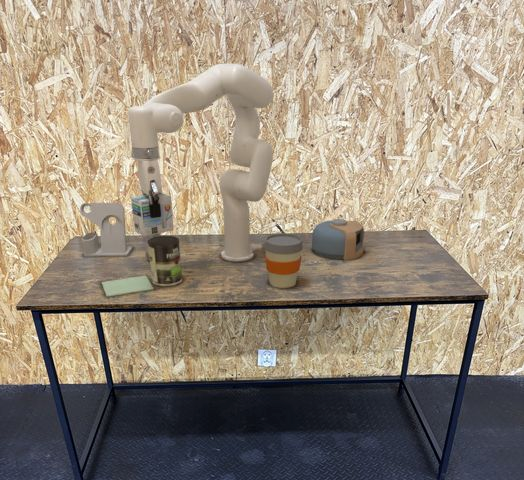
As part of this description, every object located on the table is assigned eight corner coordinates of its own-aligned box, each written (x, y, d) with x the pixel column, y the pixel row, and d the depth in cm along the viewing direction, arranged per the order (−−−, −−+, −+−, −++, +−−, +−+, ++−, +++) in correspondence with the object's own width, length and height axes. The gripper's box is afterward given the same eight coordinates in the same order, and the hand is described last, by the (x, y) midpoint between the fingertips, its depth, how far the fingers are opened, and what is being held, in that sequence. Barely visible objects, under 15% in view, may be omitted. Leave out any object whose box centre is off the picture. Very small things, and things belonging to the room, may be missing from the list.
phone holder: (81, 256, 189) (72, 209, 180) (89, 247, 197) (80, 202, 188) (127, 256, 189) (120, 209, 180) (132, 247, 198) (126, 201, 189)
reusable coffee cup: (261, 289, 163) (261, 244, 155) (266, 274, 174) (266, 232, 166) (299, 291, 162) (301, 246, 154) (302, 276, 172) (304, 234, 165)
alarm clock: (354, 263, 183) (357, 231, 177) (304, 254, 191) (305, 223, 185) (368, 247, 198) (371, 217, 192) (321, 240, 206) (323, 211, 200)
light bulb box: (144, 237, 150) (140, 201, 145) (133, 231, 155) (129, 196, 149) (174, 230, 156) (171, 195, 151) (163, 225, 161) (160, 191, 155)
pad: (146, 276, 172) (146, 275, 171) (153, 289, 162) (153, 288, 162) (101, 283, 167) (101, 282, 166) (106, 297, 157) (106, 295, 157)
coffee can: (188, 278, 170) (185, 238, 163) (168, 288, 163) (164, 247, 156) (165, 272, 175) (161, 233, 168) (145, 282, 168) (140, 241, 160)
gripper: (166, 157, 138) (171, 219, 147) (151, 148, 152) (157, 205, 161) (139, 159, 136) (146, 222, 145) (127, 149, 149) (134, 208, 158)
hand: (152, 213), depth 153 cm, fingers closed on light bulb box, 8 cm apart
